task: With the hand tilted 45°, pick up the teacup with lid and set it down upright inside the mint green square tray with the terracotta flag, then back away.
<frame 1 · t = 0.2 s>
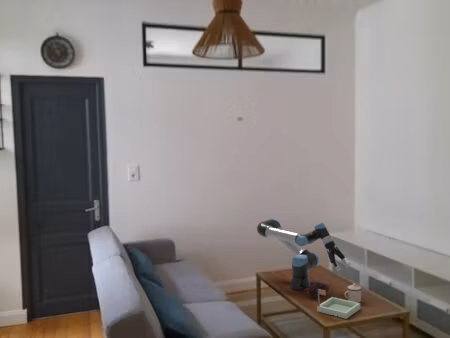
hand: (343, 268, 318), 16 cm above the table, tool tilted 35°, fingers open, 13 cm apart
mint green square tray: (338, 310, 283), on the table
teacup with lid: (352, 301, 298), on the table
pine cone: (317, 297, 308), on the table
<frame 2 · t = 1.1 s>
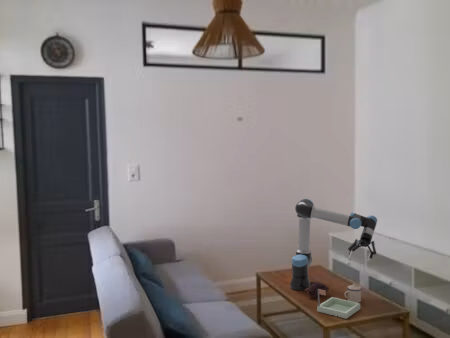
hand: (358, 260, 305), 25 cm above the table, tool tilted 45°, fingers open, 13 cm apart
nothing on the table moved.
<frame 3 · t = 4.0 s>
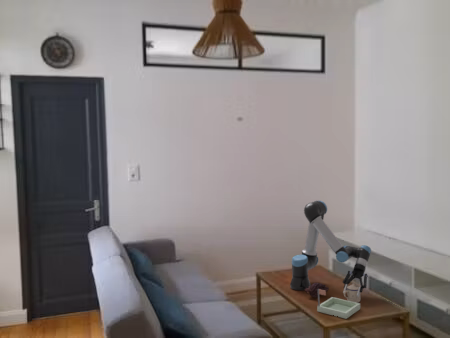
hand: (350, 294, 295), 5 cm above the table, tool tilted 45°, fingers closed on teacup with lid, 9 cm apart
teacup with lid: (352, 300, 298), on the table, touching gripper
everything else where it was.
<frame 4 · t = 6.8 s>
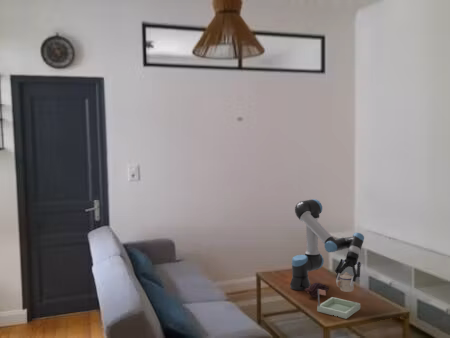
hand: (343, 284, 284), 16 cm above the table, tool tilted 45°, fingers closed on teacup with lid, 9 cm apart
teacup with lid: (345, 290, 287), point 11 cm above the table, touching gripper
everything else where it was.
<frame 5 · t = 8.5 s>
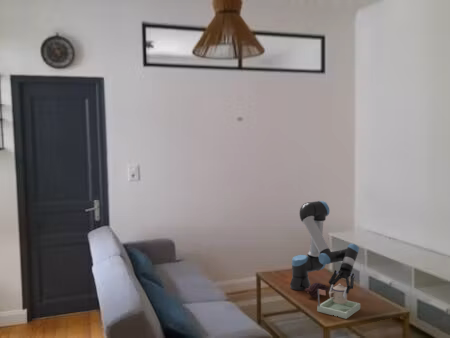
hand: (336, 295, 279), 10 cm above the table, tool tilted 45°, fingers closed on teacup with lid, 9 cm apart
teacup with lid: (338, 302, 283), point 5 cm above the table, touching gripper
everything else where it was.
when the fingers open (6 cm above the table, at t = 9.7 s): teacup with lid stays where it is, resting on mint green square tray.
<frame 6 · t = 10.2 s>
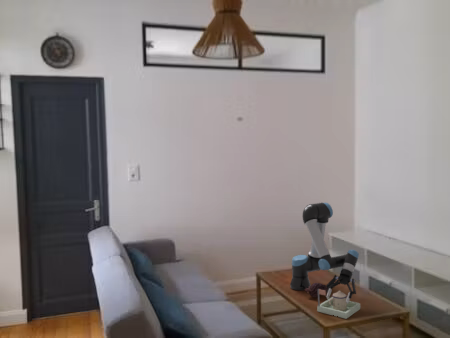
hand: (337, 300, 281), 7 cm above the table, tool tilted 45°, fingers open, 13 cm apart
teacup with lid: (337, 309, 283), resting on mint green square tray
everything else where it was.
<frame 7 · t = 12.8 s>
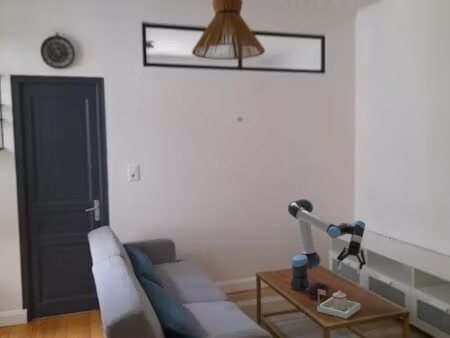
hand: (348, 272, 295), 21 cm above the table, tool tilted 35°, fingers open, 13 cm apart
nothing on the table moved.
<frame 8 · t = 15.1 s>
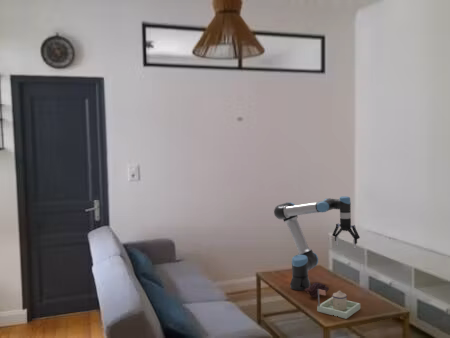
hand: (345, 246, 318), 32 cm above the table, tool pointing down, fingers open, 13 cm apart
nothing on the table moved.
at the end: teacup with lid inside the target area (0.8 cm from its centre), resting on mint green square tray; teacup with lid tilted 0°; the gripper is holding nothing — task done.
